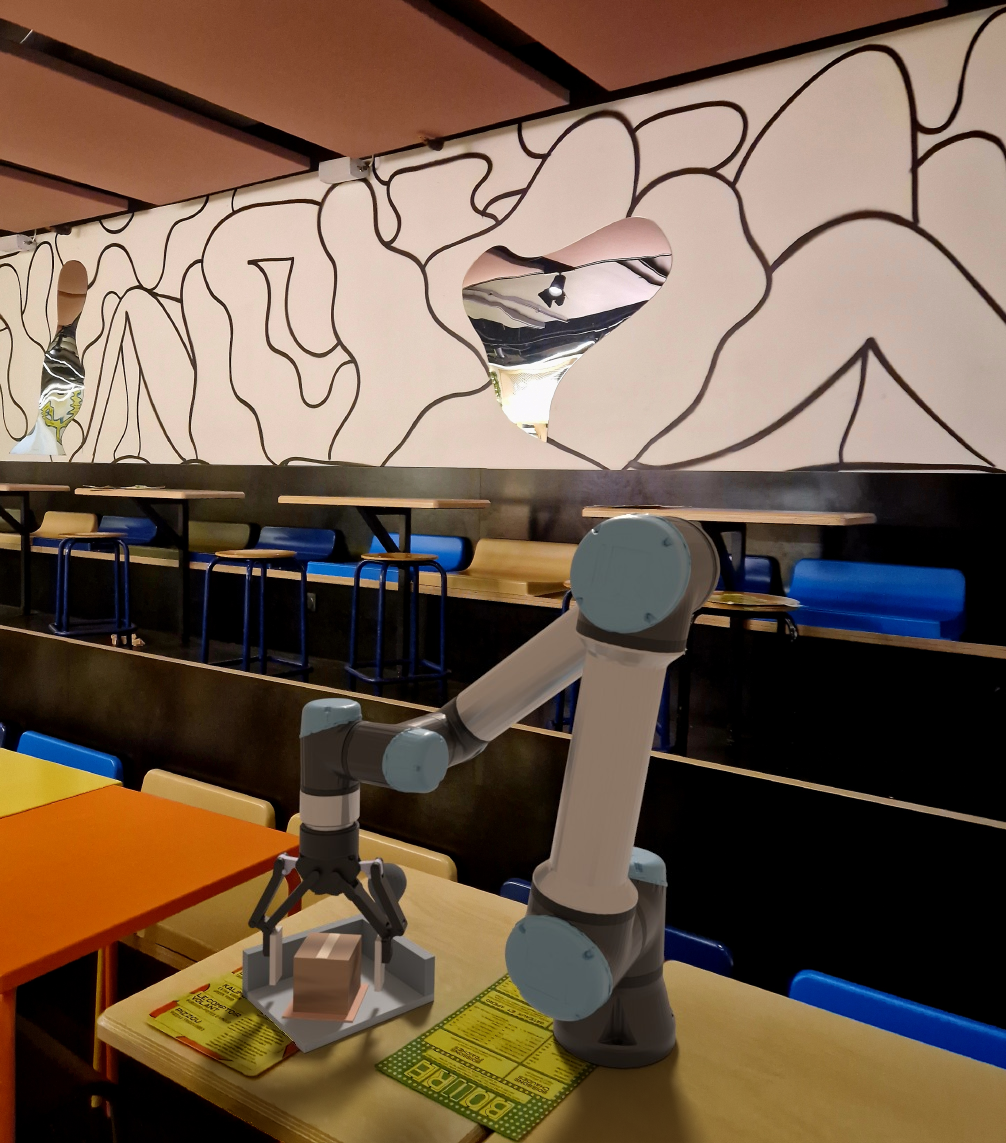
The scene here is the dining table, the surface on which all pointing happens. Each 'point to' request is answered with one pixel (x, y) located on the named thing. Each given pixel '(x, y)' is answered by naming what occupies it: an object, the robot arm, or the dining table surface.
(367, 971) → the tray
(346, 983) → the cardboard box
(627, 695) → the robot arm
